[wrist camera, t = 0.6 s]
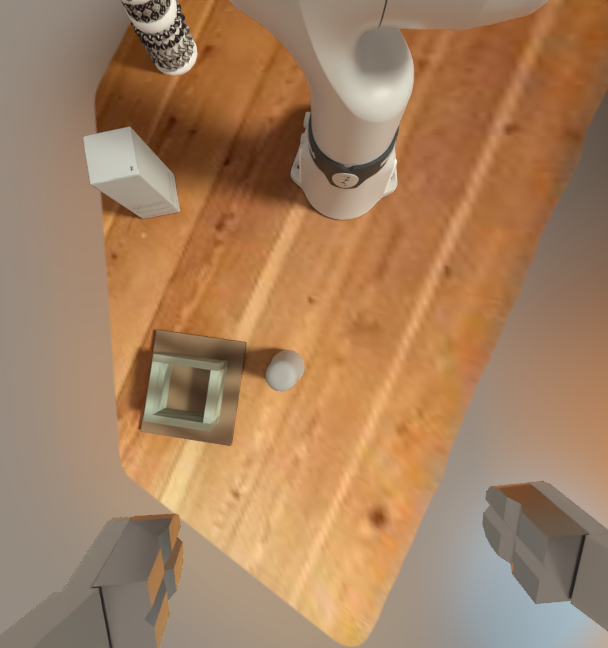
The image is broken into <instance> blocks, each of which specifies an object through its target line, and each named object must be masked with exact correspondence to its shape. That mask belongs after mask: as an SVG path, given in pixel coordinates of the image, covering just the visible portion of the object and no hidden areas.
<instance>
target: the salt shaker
mask: <svg viewBox="0 0 608 648" xmlns="http://www.w3.org/2000/svg"><path fill="white" fill-rule="evenodd" d="M304 370H305V368H304V361H303V359H302V358H301V356H300V355H299V354H297V353H296V352H294V351H290V350H284V351H281V352H278V353H277V354H276V355H275V356H274V357H273V358H272V361H271V364H270V365H269V366H268V368H267V371H266V381H267V383H268V385H269V386H270V387H271V388H272V389H274V390H275V391H286V390H289V389H290V388H291V387H292V386H293V385H294V384H295V383H296V382H297V381H298V380H299V379H300V378H301V377H302V376H303V373H304Z"/></svg>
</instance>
